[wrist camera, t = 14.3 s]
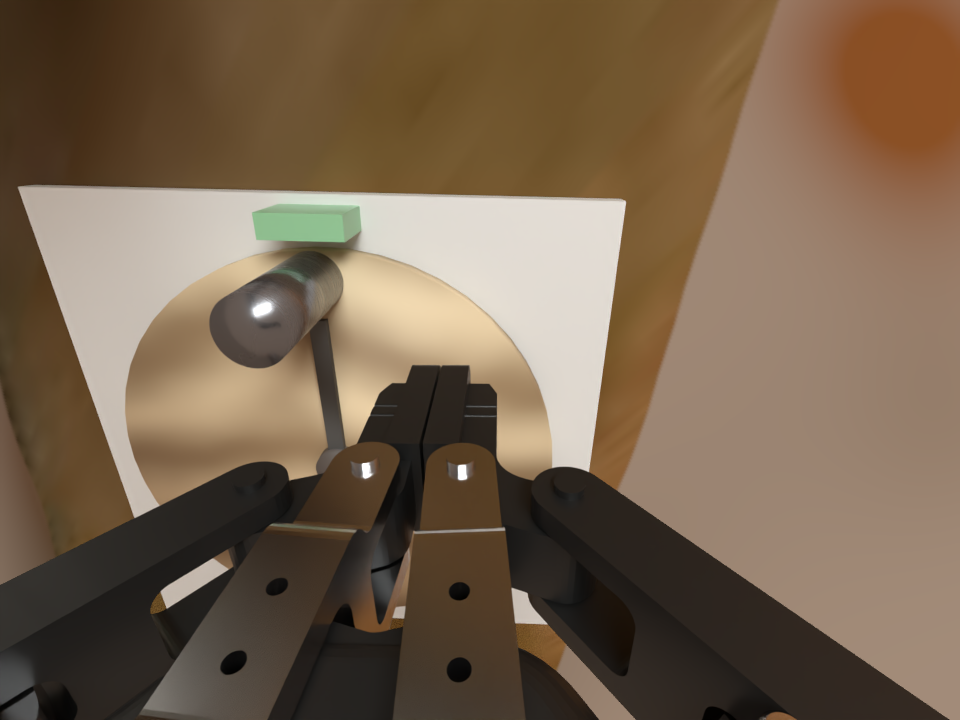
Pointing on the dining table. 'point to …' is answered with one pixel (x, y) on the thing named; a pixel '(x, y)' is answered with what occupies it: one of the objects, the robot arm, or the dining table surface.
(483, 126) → the dining table surface
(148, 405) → the tan round piece
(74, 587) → the robot arm
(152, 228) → the gauge plate
